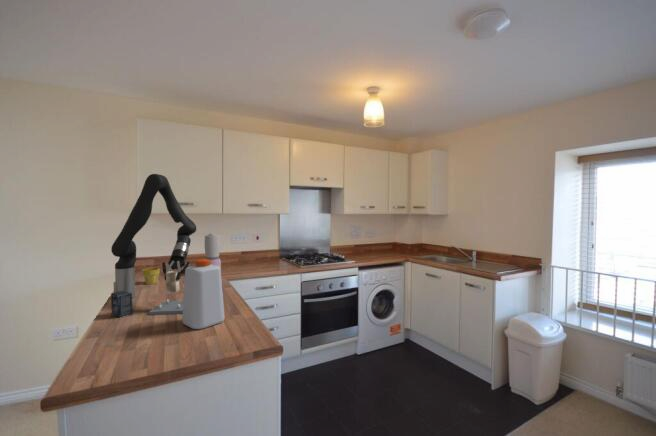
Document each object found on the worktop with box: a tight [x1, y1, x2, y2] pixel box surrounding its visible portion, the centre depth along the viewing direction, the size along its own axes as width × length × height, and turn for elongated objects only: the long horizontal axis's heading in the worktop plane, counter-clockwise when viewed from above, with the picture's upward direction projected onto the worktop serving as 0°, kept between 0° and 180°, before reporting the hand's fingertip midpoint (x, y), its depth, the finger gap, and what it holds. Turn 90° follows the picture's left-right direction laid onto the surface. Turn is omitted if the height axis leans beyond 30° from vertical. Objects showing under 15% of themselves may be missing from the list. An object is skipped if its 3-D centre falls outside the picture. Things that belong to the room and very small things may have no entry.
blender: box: [204, 232, 222, 270], centre depth 234 cm, size 16×12×32 cm
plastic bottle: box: [181, 258, 225, 330], centre depth 134 cm, size 15×15×28 cm
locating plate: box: [148, 299, 184, 316], centre depth 152 cm, size 16×16×4 cm
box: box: [110, 291, 133, 318], centre depth 144 cm, size 8×6×11 cm
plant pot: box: [141, 267, 161, 285], centre depth 206 cm, size 10×10×10 cm
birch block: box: [165, 270, 180, 294], centre depth 152 cm, size 4×4×10 cm
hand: (171, 279), depth 151 cm, fingers closed on birch block, 4 cm apart
